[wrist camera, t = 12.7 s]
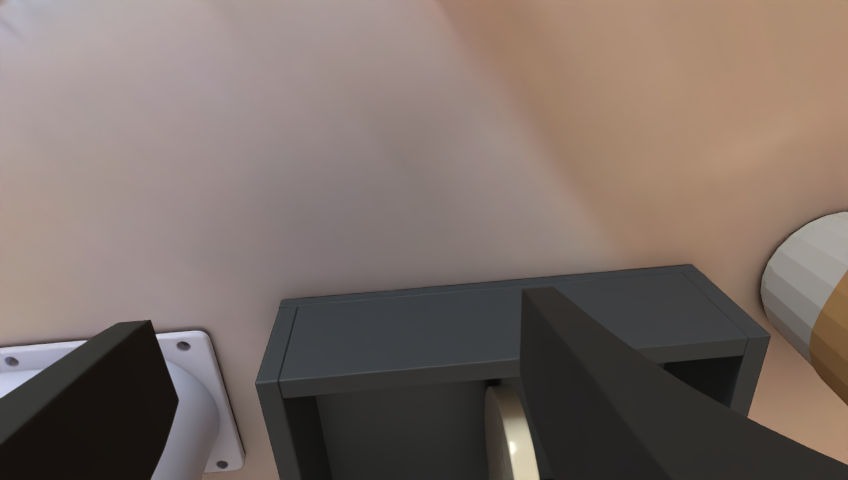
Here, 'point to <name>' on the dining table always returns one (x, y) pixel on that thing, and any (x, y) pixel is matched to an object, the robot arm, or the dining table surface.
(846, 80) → the dining table surface
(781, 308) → the coffee cup
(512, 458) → the saucer
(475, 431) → the dark grey open box
